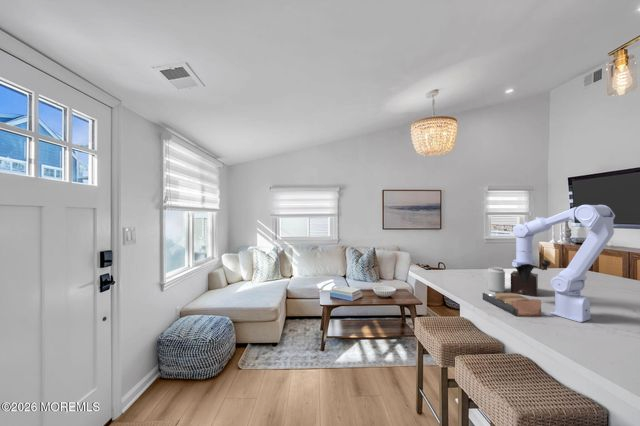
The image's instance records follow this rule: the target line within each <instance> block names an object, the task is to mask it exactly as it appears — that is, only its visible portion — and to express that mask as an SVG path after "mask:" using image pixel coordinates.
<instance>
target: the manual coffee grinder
mask: <svg viewBox="0 0 640 426" xmlns="http://www.w3.org/2000/svg"><path fill="white" fill-rule="evenodd" d="M539 262H540V265H541V266H537V265H535V264H530V265H531V266H534V268H536V269H539V270H542V271H548V267H550V266H551V265H552V263H551V261H549V260H548V259H541V260H540V261H539ZM538 277H539V273H534V272H532V271H531V273H530V276H529V279H528V282H523V281H521V280H520V276H519V273H518V271H517V270H513V271H512V272H511V273H510V292H509V293H515V294H518V295H521V296H522V295H523V296H530V297H537V296H538V295H539V284H538V283H539V278H538Z"/></svg>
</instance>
